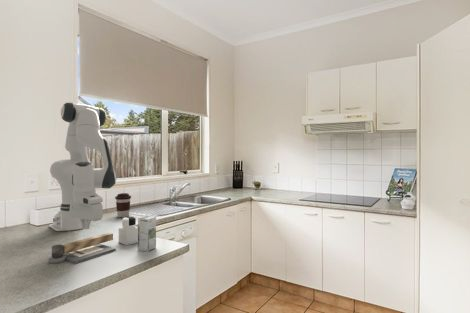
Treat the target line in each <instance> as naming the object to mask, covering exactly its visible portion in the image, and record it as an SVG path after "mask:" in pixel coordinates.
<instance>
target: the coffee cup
mask: <svg viewBox="0 0 470 313" xmlns="http://www.w3.org/2000/svg"><path fill="white" fill-rule="evenodd" d="M114 198H115V200H116V202H115V204H116V206H115V207H116V215H117V217H119V218H125V217H130V209H131V199H132V195H130V194H129V193H127V192H126V193H125V192H123V193H118V194H117V195H116V196H115V197H114Z"/></svg>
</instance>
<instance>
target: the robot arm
mask: <svg viewBox="0 0 470 313" xmlns="http://www.w3.org/2000/svg"><path fill="white" fill-rule="evenodd" d="M60 115H61V119H62V120H63V121H64V122H67V123H69V124H68V127H67V131H66V138H65V145H64V148H65V150H66V151H68V153H69V155H70V158H69V159H60V160H57V161H54V162H53V163H52V164H51V165H50V168H49V173H50V175H51V177H52V178H54V179H55V180H56V181H57V182H58V184H59V187H60V190H61V203H60V204H59V205H60V208H59V209H60V210H59V211H58V212H57V213H56V214H55V215H54V217H53V218H52V222H53V223H51V224H49V225H48V227H49V228H51V229H52V230H54V231H55V232H62V231H63V232H64V231H77V230H82V229H83V230H89V229H90V225H91V222H98V221H101V220H102V219H103V216H104V215H103V214H104V211H103V208H104V207H103V204H102V203H103V197H102V196H100V195H98V193H96V189H111V188H112V187H114V185H116V182H117V174H116V170H114V167H113V160H112V155H111V151H110V147H109V143H108V140H107V139H106V138H105V137H103V136H102V133H101V127H102V126H103V125H105V124H106V121H107V112H106V110H105V109H103V108H101V107H96V106H93V105H89V104H82V103H74V102H65V103H63V105H62V107H61V108H60ZM88 148H89V149H93V150H94V151H97V152H99V153H100V154H101V157H102V162H103V167H100V168H99V167H97V168H95V167H94V164H93V162H92V161H91V160H90V158H89V155H88V154H89V153H88Z"/></svg>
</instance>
